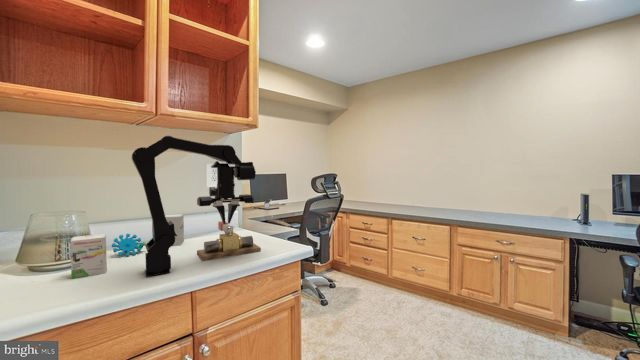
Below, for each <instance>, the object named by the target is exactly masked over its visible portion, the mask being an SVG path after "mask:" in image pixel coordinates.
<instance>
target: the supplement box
mask: <svg viewBox="0 0 640 360" xmlns="http://www.w3.org/2000/svg"><path fill="white" fill-rule="evenodd" d="M165 217H166V220H167V222H170V221H171V222H172V223H173V224H174V230H175V233H176V235H177V236H175V243H174V244H173V245H172V246H171V247H175V246H177V247H179V246H181V245H182V243H184V242H185V230H184V229H185V228H184V227H185V225H184V224H185V221H184V219H185V218H184V217H185V216H184V213H183V214H181V213H177V214H165Z"/></svg>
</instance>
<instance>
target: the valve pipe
mask: <svg viewBox="0 0 640 360" xmlns="http://www.w3.org/2000/svg"><path fill="white" fill-rule="evenodd" d="M253 243H254V238H253V236H252V235H247V236H241V235H239V234H238V233H236V232H233V234H231V235H225V233H220V234H219V238H217V239H216V240H209V241H204V242H203V249H204V251H205V253H207V252H214V251H218V252H220V251H223V252H226V251H233V250H239V249H240V248H242V247H247V246H253Z"/></svg>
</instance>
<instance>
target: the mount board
mask: <svg viewBox="0 0 640 360" xmlns="http://www.w3.org/2000/svg"><path fill="white" fill-rule="evenodd" d="M261 249H262V248H261V247H260V245H259V246H258V245H257V244H255V243H254V242H253V246H247V247H242V248H240V249H239V250H233V251H226V252H223V251H220V252H218V251H214V252H207V253H205V251H204V248H203V249H197V250H196V255H197V256H198V258H199V259H200V261H201V262H203V261H212V260H217V259H222V258H229V257H235V256H241V255H248V254H253V253H259V252H261V251H262V250H261Z"/></svg>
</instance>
